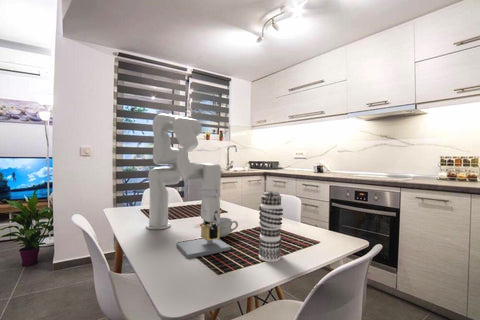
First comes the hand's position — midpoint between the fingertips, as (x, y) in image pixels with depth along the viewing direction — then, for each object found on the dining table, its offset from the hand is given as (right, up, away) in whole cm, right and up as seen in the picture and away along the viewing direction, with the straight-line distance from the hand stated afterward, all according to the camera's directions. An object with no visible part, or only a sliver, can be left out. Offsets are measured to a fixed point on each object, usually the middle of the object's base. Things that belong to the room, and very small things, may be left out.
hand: (210, 235), depth 102 cm
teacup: (+4, -5, +16) cm, 17 cm away
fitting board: (-3, -5, -2) cm, 6 cm away
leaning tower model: (+24, -6, -9) cm, 26 cm away
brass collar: (0, -1, 0) cm, 1 cm away
